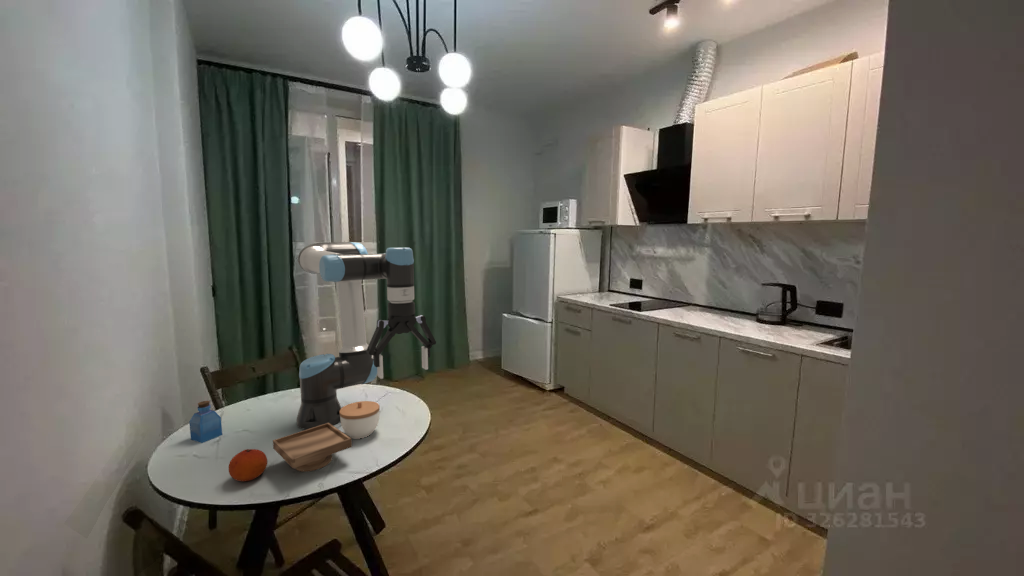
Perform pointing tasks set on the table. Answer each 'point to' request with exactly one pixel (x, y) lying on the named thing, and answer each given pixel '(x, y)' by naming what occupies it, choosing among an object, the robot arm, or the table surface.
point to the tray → (312, 447)
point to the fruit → (247, 465)
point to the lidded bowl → (359, 418)
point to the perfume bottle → (205, 423)
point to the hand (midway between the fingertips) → (403, 372)
